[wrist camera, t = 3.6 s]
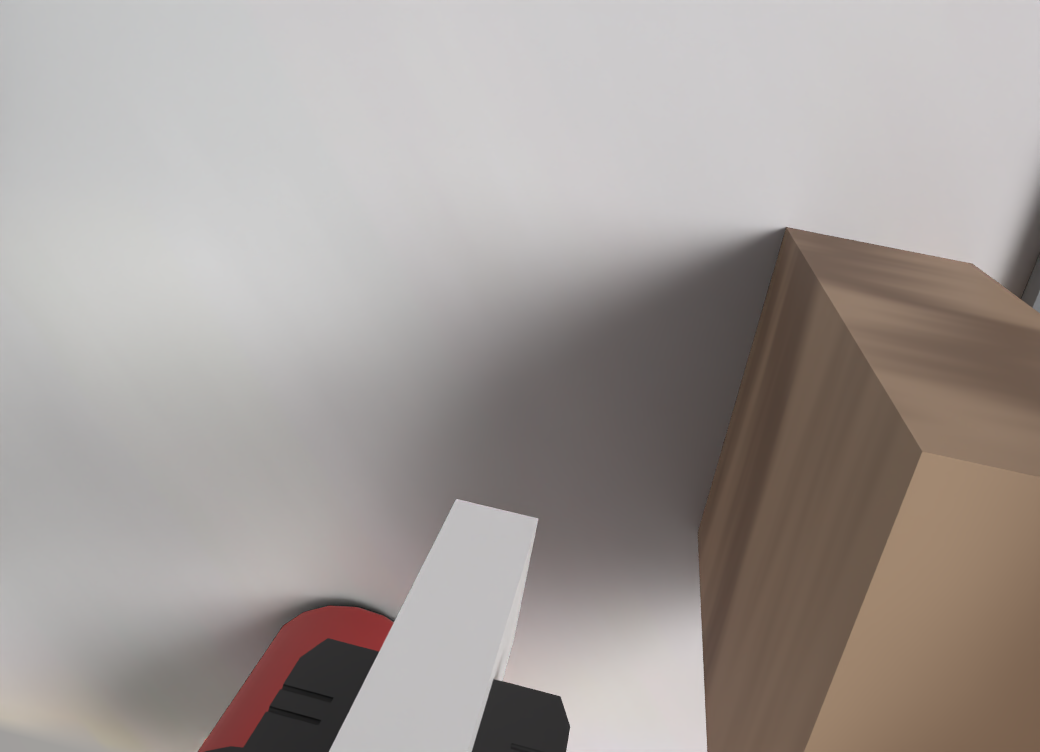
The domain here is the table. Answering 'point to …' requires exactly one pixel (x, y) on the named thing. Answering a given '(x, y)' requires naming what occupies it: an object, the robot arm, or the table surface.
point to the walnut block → (877, 513)
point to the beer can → (292, 664)
